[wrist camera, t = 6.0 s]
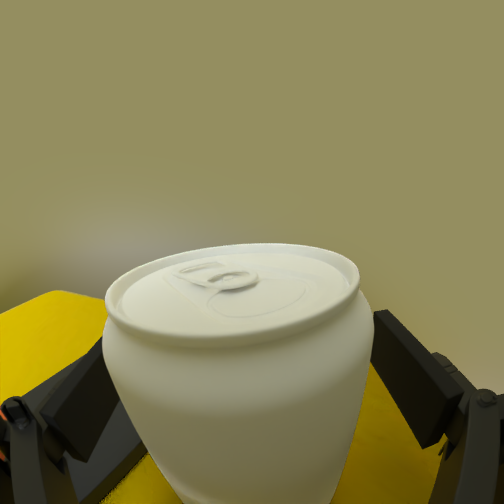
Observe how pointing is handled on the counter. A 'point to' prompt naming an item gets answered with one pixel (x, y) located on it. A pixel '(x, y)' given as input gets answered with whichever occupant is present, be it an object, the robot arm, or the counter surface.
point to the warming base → (98, 447)
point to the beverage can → (242, 369)
